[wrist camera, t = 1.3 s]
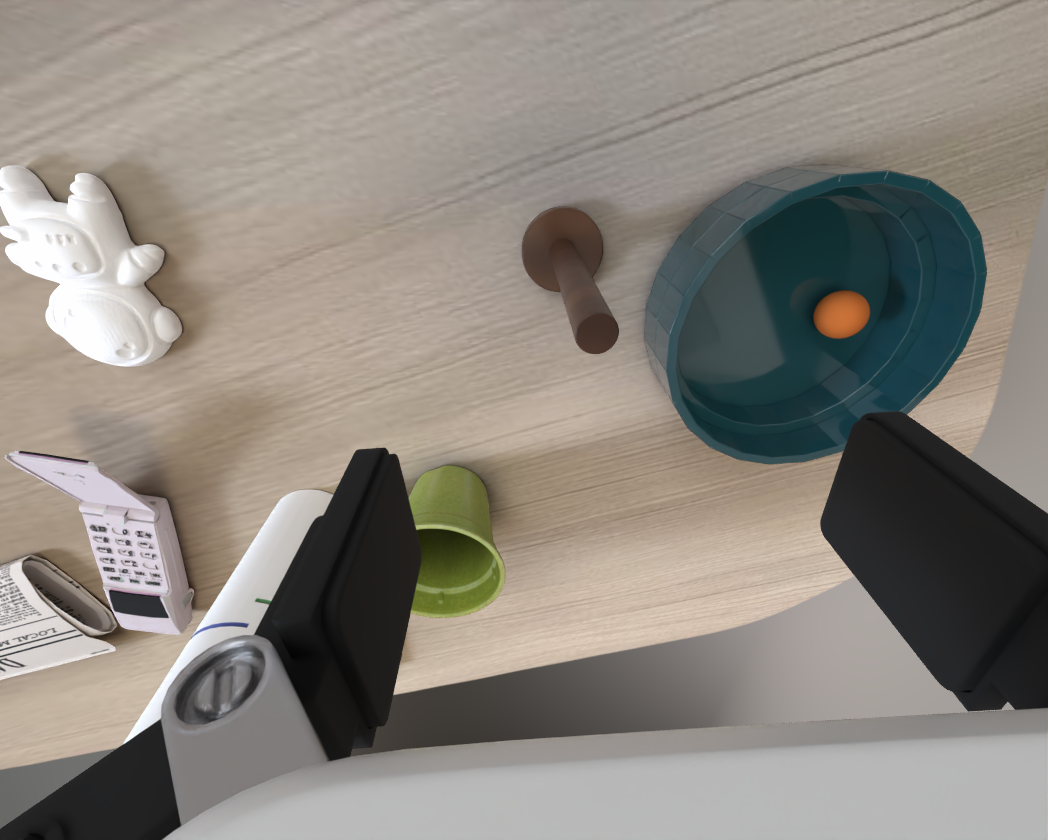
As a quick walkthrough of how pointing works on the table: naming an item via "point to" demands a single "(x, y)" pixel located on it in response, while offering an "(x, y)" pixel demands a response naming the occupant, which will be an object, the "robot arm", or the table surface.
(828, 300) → the ball
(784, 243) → the bowl
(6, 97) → the table surface
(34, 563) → the newspaper
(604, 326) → the stirring stick
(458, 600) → the plant pot
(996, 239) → the table surface
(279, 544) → the cylindrical container
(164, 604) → the mobile phone
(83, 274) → the white toy figurine
